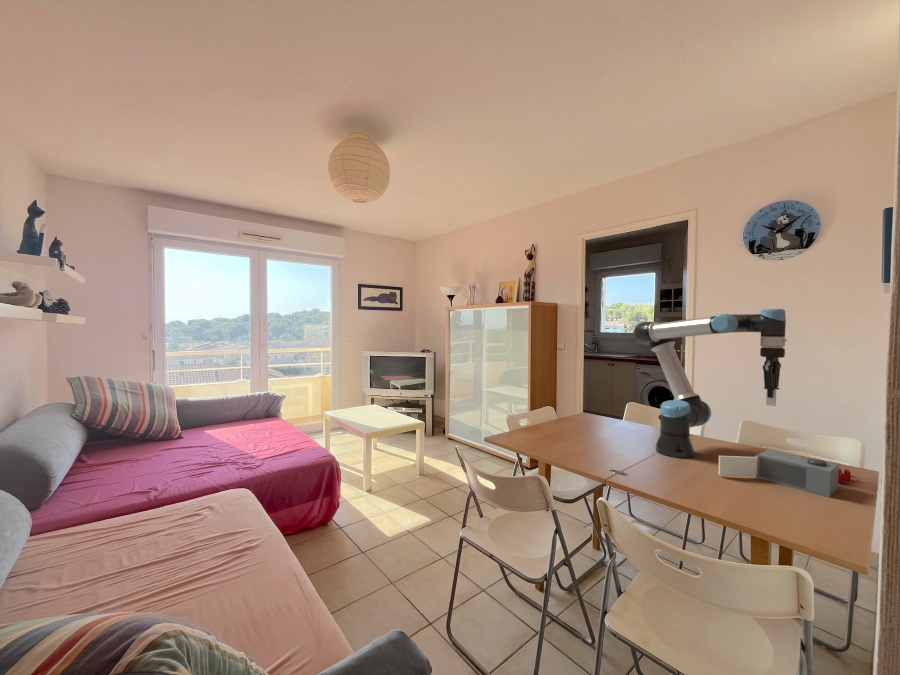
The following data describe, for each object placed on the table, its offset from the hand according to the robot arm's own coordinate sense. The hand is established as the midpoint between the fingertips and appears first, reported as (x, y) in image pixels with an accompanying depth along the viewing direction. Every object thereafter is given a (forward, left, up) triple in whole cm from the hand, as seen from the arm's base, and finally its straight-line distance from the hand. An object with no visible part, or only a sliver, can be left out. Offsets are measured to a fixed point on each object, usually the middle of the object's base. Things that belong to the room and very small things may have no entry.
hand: (771, 405), depth 151 cm
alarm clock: (+16, +8, -27) cm, 32 cm away
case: (+10, -8, -26) cm, 29 cm away
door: (-4, -19, -26) cm, 33 cm away
